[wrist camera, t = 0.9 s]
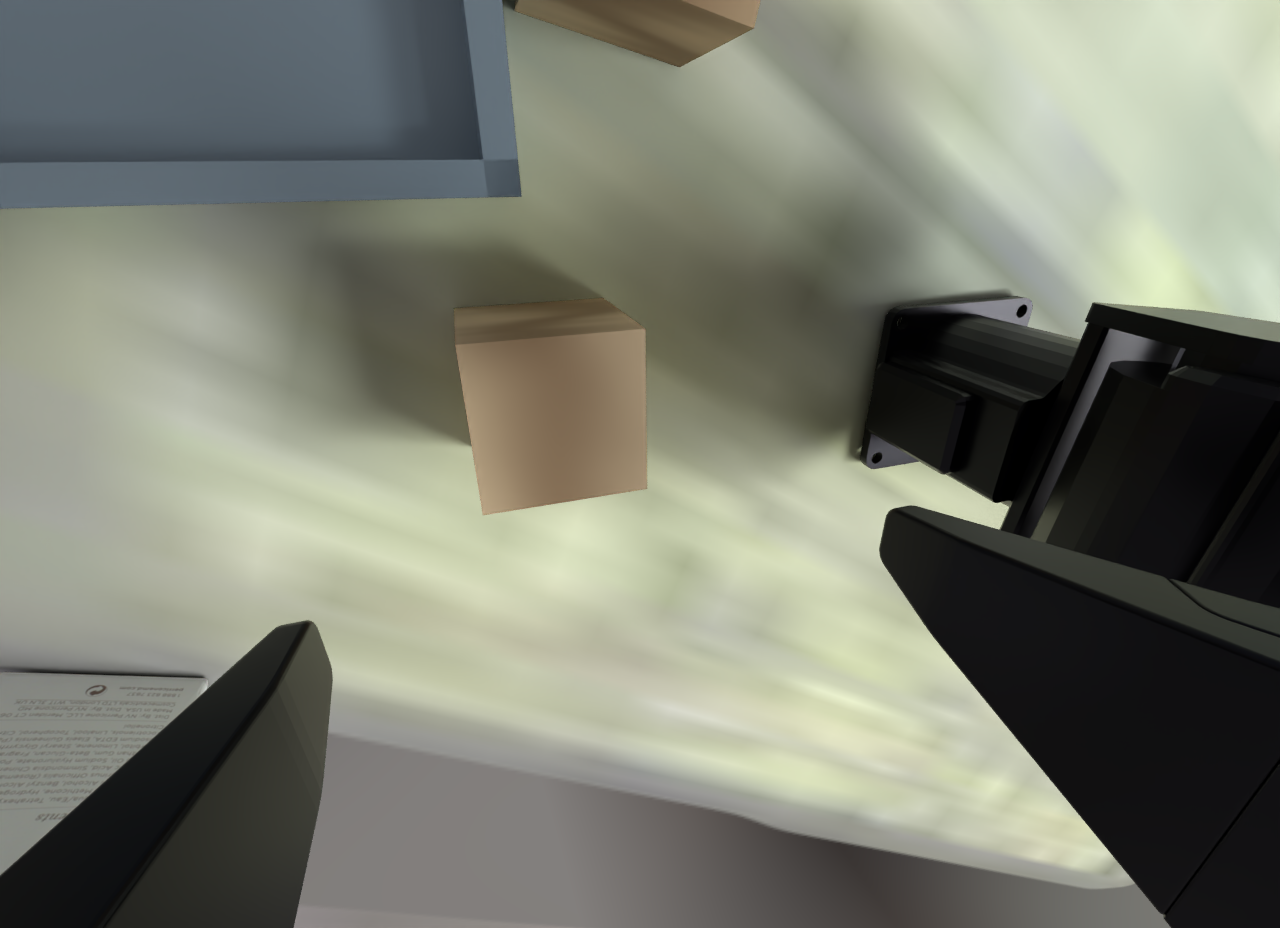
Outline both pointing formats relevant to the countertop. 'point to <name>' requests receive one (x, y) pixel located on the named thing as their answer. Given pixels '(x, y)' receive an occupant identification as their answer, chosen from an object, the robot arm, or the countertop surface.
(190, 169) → the tray
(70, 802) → the small box
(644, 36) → the oak cube
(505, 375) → the oak cube
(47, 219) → the countertop surface
